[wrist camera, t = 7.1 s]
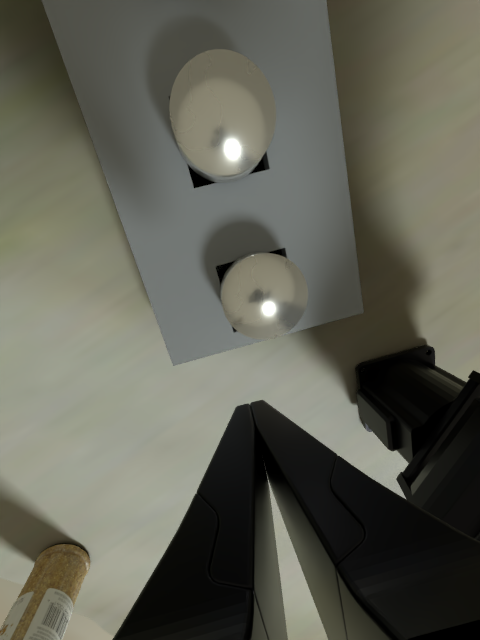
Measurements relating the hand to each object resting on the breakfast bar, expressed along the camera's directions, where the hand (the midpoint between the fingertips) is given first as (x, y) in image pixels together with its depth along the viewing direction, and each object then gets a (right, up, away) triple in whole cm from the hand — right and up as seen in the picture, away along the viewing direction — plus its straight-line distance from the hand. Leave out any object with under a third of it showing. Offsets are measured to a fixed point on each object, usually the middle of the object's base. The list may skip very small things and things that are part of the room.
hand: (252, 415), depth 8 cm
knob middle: (-2, +13, +7) cm, 15 cm away
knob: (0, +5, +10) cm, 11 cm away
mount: (-2, +13, +9) cm, 16 cm away
